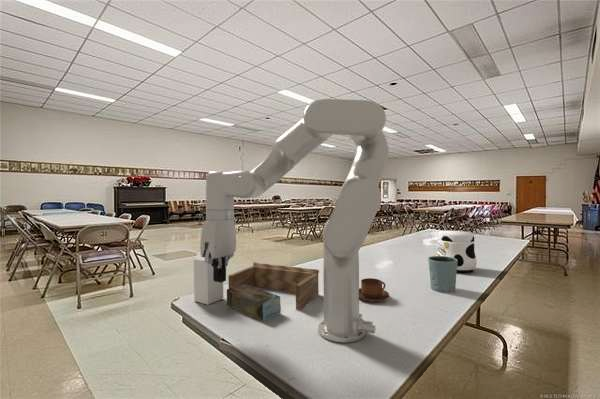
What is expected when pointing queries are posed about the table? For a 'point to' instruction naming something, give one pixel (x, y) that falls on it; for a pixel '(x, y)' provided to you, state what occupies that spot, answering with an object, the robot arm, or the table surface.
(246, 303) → the beverage carton
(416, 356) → the table surface
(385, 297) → the cup and saucer
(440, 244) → the milk container
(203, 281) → the milk carton
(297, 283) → the frame
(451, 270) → the teal cup
